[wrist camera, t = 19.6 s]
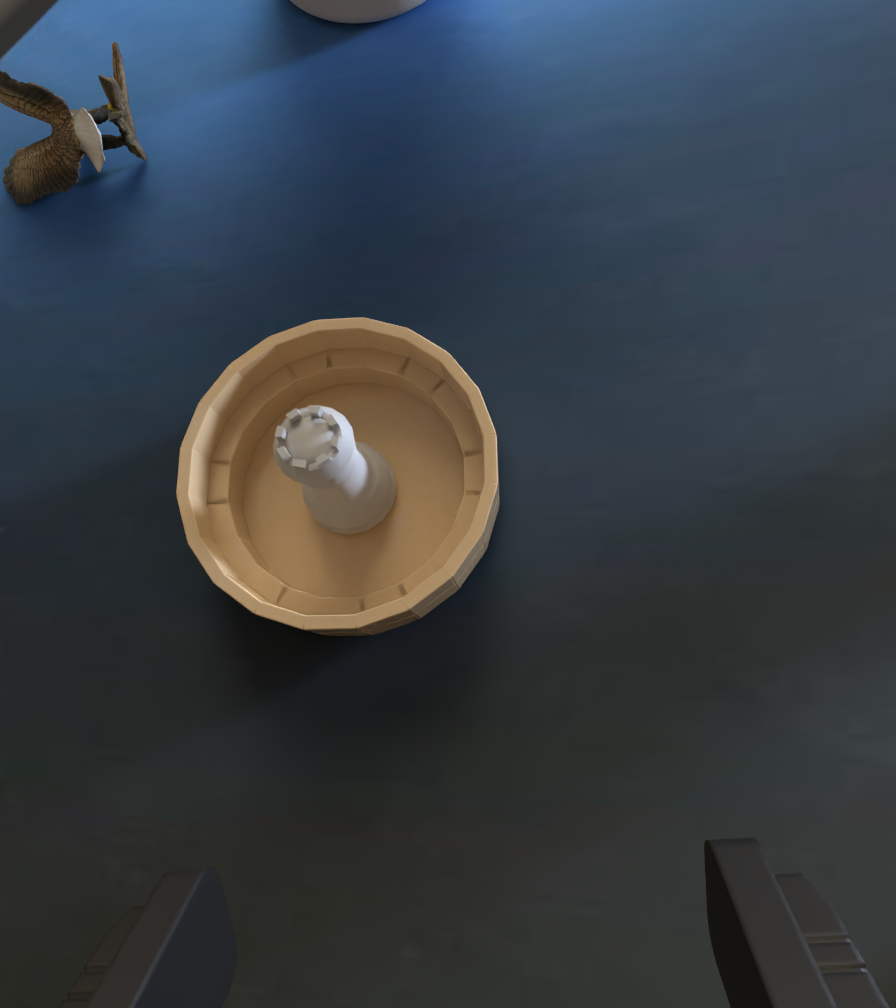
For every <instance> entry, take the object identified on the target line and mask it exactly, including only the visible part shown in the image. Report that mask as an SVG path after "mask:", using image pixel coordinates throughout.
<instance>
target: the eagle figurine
mask: <svg viewBox="0 0 896 1008" xmlns="http://www.w3.org/2000/svg"><path fill="white" fill-rule="evenodd" d="M112 51H113V69H114V73H113V74H114V79H113V78H110V77H104V76H103V75H99V80H100V82H101V85H102V87H103V89H104V92H105V94H106V96H107V98H108V100H109V103H108V104H107V105H103V106H101V107H100V108H98V109H97V108H96V109H92V110H85V109H84V108H83V107H81V108H80V110H79V111H78V110H69V108H68V105H67V104H66V103H65V102H64V100H63V99H62V97H60V96H56V95H55V93H53V92H51V91H50V90H48V89H46V88H44V87H42V86H39V85H37V84H35V83H33V82H29V83H24V82H18V81H17V80H15V79H12V78H11V77H10V76H9V75H8V74H7V73H6V72H3V71H1V70H0V102H1V103H3V104H4V105H6V106H8V107H10V108H12V109H14V110H16V111H18V112H20V113H23V114H25V115H28V116H31V117H34V118H37V119H39V120H42V121H45V122H47V123H49V124H51V126H52V134H51V135H50V136H49V137H47V138H45V139H43V140H41V141H38V142H35V143H33V144H31V145H29V146H28V147H25V148H20V149H17V150H16V151H15V156H14V157H12V158H11V159H10V160H9V163H10V166H8V167H6V168H5V169H4V173H5V176H4V177H3V182H4V183H6V185H5V189H6V191H8V192H12V193H11V198H12V199H14V198H15V201H16V203H20V204H23V203H24V204H25V205H27V204H29V203H30V204H32V203H33V202H34V200H37V199H41V198H42V197H43V194H44V195H48V193H50V194H52V193H53V192H54V191H57V192H61V191H63V192H66V191H67V190H68V189H70V188H71V187H72V185H73V184H76V183H77V182H78V178H79V177H80V174H79V171H78V170H79V169H80V167H81V164H80V162H79V161H80V160H81V159H83V157H84V154H86V155H87V156H88V157H89V158H90V160H91V161H92V162H93V164H94V166H95V168H96V170H97V172H99V173H100V172H101V170H102V167H103V164H104V162H105V157H104V153H103V150H107V149H115V148H118V147H121V146H123V145H125V146H127V147H128V149H129V151H130V152H132V153H133V154H135V155H136V156H137V157H139V158H142V159H143V160H144V161H146V159H147V157H146V154H145V152H144V151H143V149H142V148H141V146H140V145H139V142H138V139H137V136H136V132H135V127H134V123H133V119H132V116H131V112H130V107H129V101H128V92H127V86H126V80H125V74H124V69H123V62H122V57H121V54H120V51H119V47H118V44H117V42H114V43H113V44H112ZM106 120H108V121H110V122H113V123H114V124H115V125H116V126H118V127H119V131H120V133H121V136H119V137H117V136H113V135H101V133H100V131H99V129H98V128H97V126H96V125H97V124H101V123H102V122H105V121H106Z"/></svg>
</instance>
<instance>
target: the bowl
mask: <svg viewBox="0 0 896 1008" xmlns="http://www.w3.org/2000/svg"><path fill="white" fill-rule="evenodd" d="M309 405H312V406H315V405H317V406H323V407H329V408H332V409H334V410H336V411H337V412H339V413H340V414H342V415H344V416H345V418H346V419H347V421H348V422H349V424H350V425H351V427H352V429H353V434H354V440H355V442H361V443H365V444H367V445H369V446H370V447H372V448H373V449H375V450H377V451H378V452H380V454H381V455H382V456H383V457H384V458H385V459H386V461H387V462H388V464H389V465H390V467H391V468H392V470H393V471H394V477H395V482H396V487H397V489H396V493H395V498H394V502H393V506H392V507H391V509H390V510H389V512H388V513H387V514H386V516H385V517H384V519H383V520H382V521H381V522H379V523H378V524H376V525H375V526H373V527H372V528H370V529H369V530H367V531H363V532H358V533H354V534H344V533H338V532H333V531H330V530H329V529H327V528H326V527H324V526H323V525H321V524H320V523H318V522H317V521H316V519H315V517H313V515H312V514H311V512H310V510H309V509H308V507H307V506H306V504H305V502H304V497H303V490H302V483H299V482H295V481H294V480H292V479H291V478H289V477H288V476H286V475H285V474H283V472H282V471H281V469H280V468H279V466H278V464H277V463H276V461H275V456H274V449H273V444H274V440H275V433H276V429H277V425H279V426H281V425H282V423H283V422H284V421H285V419H286V418H287V416H286V414H287V413H289V412H290V411H292V410H293V409H295V408H297V409H298V410H299V409H302V408H306V407H308V406H309ZM176 495H177V500H178V505H179V509H180V513H181V517H182V521H183V526H184V530H185V534H186V538H187V541H188V544H189V546H190V547H191V549H192V551H193V552H194V554H195V555H196V557H197V558H198V560H199V561H200V563H201V564H202V566H203V568H204V569H205V571H206V572H207V574H208V575H209V577H210V578H211V580H212V582H213V583H215V585H216V586H218V587H219V588H220V589H222V590H223V591H224V592H226V593H227V594H228V595H230V596H231V597H232V598H233V599H235V600H236V601H237V602H239V603H240V604H241V605H243V606H244V607H245V608H247V609H248V610H249V611H250V612H252V613H254V614H255V615H258V616H261V617H264V618H268V619H271V620H274V621H277V622H280V623H283V624H286V625H289V626H292V627H296V628H299V629H302V630H306V631H310V632H313V633H317V634H321V635H327V636H350V635H376V634H379V633H382V632H385V631H387V630H390V629H393V628H396V627H399V626H402V625H404V624H407V623H410V622H413V621H416V620H419V619H420V618H422V617H423V616H425V615H426V614H427V613H429V612H430V611H431V610H433V609H434V608H435V607H436V606H438V605H439V604H440V603H442V602H443V601H444V600H446V599H447V598H448V597H450V596H451V595H452V594H454V593H455V592H456V591H458V589H459V588H460V587H461V586H462V584H463V583H464V581H465V580H466V578H467V577H468V576H469V574H470V573H471V571H472V570H473V568H474V567H475V566H476V564H477V563H478V561H479V560H480V558H481V557H482V556H483V554H484V553H485V550H486V549H487V546H488V543H489V540H490V536H491V533H492V530H493V526H494V523H495V520H496V516H497V513H498V510H499V505H500V500H499V469H498V449H497V435H496V431H495V428H494V426H493V423H492V421H491V418H490V415H489V413H488V410H487V408H486V405H485V402H484V400H483V397H482V394H481V392H480V390H479V388H478V387H477V386H476V384H475V383H474V382H473V381H472V380H471V378H470V377H469V376H468V375H467V374H466V372H465V371H464V370H463V369H462V368H461V367H460V365H459V364H458V363H457V362H456V361H455V359H454V358H453V357H452V356H451V355H450V354H449V353H448V352H447V351H445V350H443V349H442V348H440V347H438V346H437V345H435V344H434V343H432V342H430V341H429V340H427V339H425V338H424V337H422V336H420V335H419V334H417V333H415V332H414V331H412V330H411V329H408V328H405V327H401V326H397V325H393V324H389V323H385V322H381V321H376V320H372V319H368V318H362V317H360V318H343V319H325V320H316V321H311V322H308V323H305V324H303V325H300V326H297V327H294V328H291V329H288V330H285V331H283V332H280V333H277V334H274V335H271V336H270V337H267V338H266V339H265V340H263V341H262V342H260V343H259V344H257V345H256V346H255V347H253V348H252V349H250V350H249V351H247V352H246V353H245V354H243V355H242V356H240V357H239V358H238V359H236V360H235V361H233V362H232V363H231V364H230V365H229V366H228V367H227V368H226V369H225V371H224V372H223V373H222V374H221V376H220V377H219V378H218V379H217V381H216V382H215V383H214V384H213V385H212V387H211V388H210V389H209V390H208V392H207V393H206V394H205V395H204V397H203V398H202V399H201V400H200V403H198V406H197V408H196V410H195V413H194V415H193V418H192V420H191V423H190V425H189V427H188V430H187V432H186V435H185V437H184V440H183V442H182V444H181V447H180V456H179V468H178V479H177V490H176Z"/></svg>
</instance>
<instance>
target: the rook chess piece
mask: <svg viewBox="0 0 896 1008" xmlns="http://www.w3.org/2000/svg"><path fill="white" fill-rule="evenodd" d="M286 416H287V418H286V419H285V421H284V422H283V423H282V425H281V426H279V425H277V429H276V433H275V440H274V444H273V449H274V456H275V461H276V463H277V464H278V466H279V468H280V469H281V471H282V472H283V474H285V475H286V476H288V477H289V478H291V479H292V480H294V481H295V482H299V483H302V490H303V497H304V502H305V504H306V506H307V507H308V509H309V510H310V512H311V514H312V515H313V517H315V519H316V521H317V522H318V523H320V524H321V525H323V526H324V527H326V528H327V529H329V530H330V531H333V532H338V533H344V534H354V533H358V532H363V531H367V530H369V529H370V528H372V527H373V526H375V525H376V524H378V523H379V522H381V521H382V520H383V519H384V517H385V516H386V514H387V513H388V512H389V510H390V509H391V507H392V506H393V502H394V498H395V493H396V489H397V487H396V482H395V477H394V471H393V470H392V468H391V467H390V465H389V464H388V462H387V461H386V459H385V458H384V457H383V456H382V455H381V454H380V452H378V451H377V450H375V449H373V448H372V447H370V446H369V445H367V444H365V443H361V442H355V440H354V434H353V429H352V427H351V425H350V424H349V422H348V421H347V419H346V418H345V416H344V415H342V414H340V413H339V412H337V411H336V410H334V409H332V408H329V407H323V406H317V405H315V406H312V405H309V406H308V407H306V408H302V409H299V410H298V409H297V408H295V409H293V410H292V411H290V412H289V413H287V414H286Z"/></svg>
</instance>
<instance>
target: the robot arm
mask: <svg viewBox="0 0 896 1008" xmlns="http://www.w3.org/2000/svg"><path fill="white" fill-rule="evenodd" d="M704 854H705V874H706V894H707V914H708V925H709V932H710V937H711V943H712V947H713V952H714V956H715V959H716V963H717V966H718V969H719V973H720V976H721V979H722V982H723V985H724V988H725V991H726V994H727V997H728V1000H729V1003H730V1006H731V1008H889V1007H888V1005H887V1003H886V1001H885V999H884V998H883V996H882V994H881V992H880V990H879V988H878V987H877V985H876V983H875V981H874V979H873V977H872V976H871V974H870V972H867V970H866V967H865V963H864V961H863V959H862V957H861V956H860V954H859V952H858V950H857V948H856V946H855V945H854V943H853V942H851V940H850V936H849V934H848V932H847V930H846V928H845V926H844V925H843V923H842V921H841V919H840V917H839V915H838V914H837V912H836V910H835V908H834V906H833V904H832V903H831V901H830V900H829V899H828V898H827V897H826V896H824V895H823V894H822V893H821V892H820V891H819V890H818V889H817V888H816V887H815V886H814V885H813V884H811V883H810V882H809V881H808V880H807V879H806V878H805V877H804V876H803V875H802V874H801V873H797V874H778V875H774V873H773V871H772V869H771V867H770V865H769V862H768V860H767V858H766V856H765V854H764V852H763V850H762V848H761V846H760V844H759V842H758V841H757V839H756V838H754V837H753V838H736V839H719V840H706V841H705V845H704ZM236 959H237V943H236V937H235V933H234V929H233V925H232V922H231V918H230V915H229V911H228V908H227V904H226V900H225V897H224V893H223V890H222V886H221V882H220V879H219V876H218V873H217V872H216V870H215V869H213V868H197V869H180V870H169V871H167V872H165V873H164V874H163V875H162V877H161V878H160V880H159V881H158V883H157V885H156V886H155V888H154V890H153V891H152V893H151V895H150V896H149V898H148V900H147V901H146V903H145V905H144V906H140V907H132V908H131V909H130V910H129V911H128V912H127V913H126V914H125V915H124V916H123V917H122V918H121V919H120V920H119V921H118V922H117V923H116V924H115V925H114V926H113V927H112V928H111V929H110V930H109V931H107V932H106V933H105V934H104V936H103V937H102V939H101V941H100V942H99V944H98V945H97V947H96V949H95V950H94V952H93V953H92V955H91V957H90V958H89V960H88V961H87V963H86V964H85V966H84V967H85V969H84V972H83V973H80V974H79V976H78V977H77V979H76V980H75V982H74V984H73V985H72V987H71V988H70V990H69V992H68V997H67V999H66V1000H63V1001H62V1003H61V1004H60V1006H59V1007H58V1008H222V1006H223V1003H224V1001H225V998H226V996H227V993H228V991H229V988H230V986H231V983H232V980H233V976H234V972H235V967H236Z"/></svg>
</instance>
